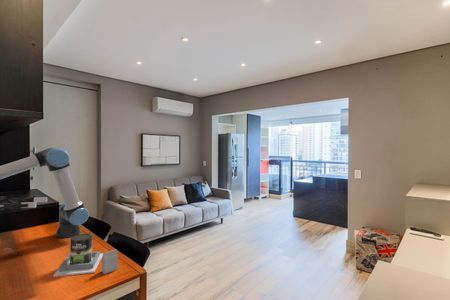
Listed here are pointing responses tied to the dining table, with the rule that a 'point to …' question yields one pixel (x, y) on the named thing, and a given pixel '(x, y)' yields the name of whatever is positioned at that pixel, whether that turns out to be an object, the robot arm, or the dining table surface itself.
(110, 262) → the white printed box
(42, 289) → the dining table surface
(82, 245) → the coffee can
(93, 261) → the caddy
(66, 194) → the robot arm
